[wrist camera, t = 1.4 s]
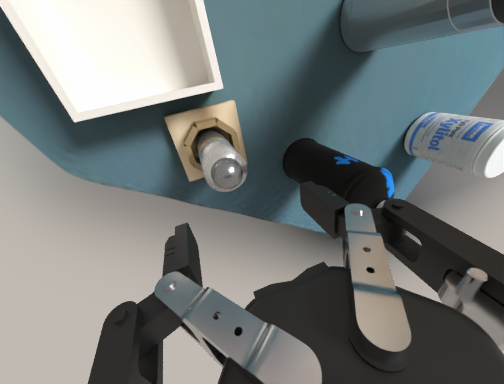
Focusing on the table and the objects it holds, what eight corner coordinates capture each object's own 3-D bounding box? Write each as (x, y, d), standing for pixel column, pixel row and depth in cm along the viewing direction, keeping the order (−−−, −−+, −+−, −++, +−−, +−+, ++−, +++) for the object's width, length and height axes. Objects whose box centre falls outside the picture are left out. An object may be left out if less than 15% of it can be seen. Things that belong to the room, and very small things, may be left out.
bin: (171, -89, 20) (168, -148, 15) (215, 88, 28) (223, 88, 23) (-15, -77, 17) (-97, -146, 12) (95, 115, 25) (74, 122, 20)
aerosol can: (301, 185, 41) (384, 254, 24) (274, 165, 37) (352, 231, 20) (327, 153, 39) (437, 202, 23) (302, 128, 35) (413, 167, 18)
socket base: (232, 100, 29) (239, 101, 26) (245, 161, 35) (253, 170, 31) (164, 116, 28) (162, 120, 24) (189, 178, 33) (190, 190, 29)
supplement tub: (415, 109, 41) (515, 119, 29) (443, 113, 44) (544, 124, 32) (395, 154, 46) (474, 179, 33) (422, 155, 49) (504, 178, 36)
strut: (221, 124, 29) (248, 149, 18) (228, 153, 31) (257, 192, 20) (190, 132, 28) (198, 164, 17) (200, 161, 31) (213, 207, 19)
